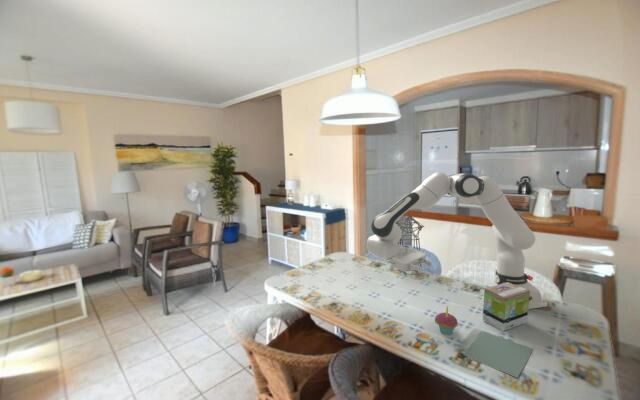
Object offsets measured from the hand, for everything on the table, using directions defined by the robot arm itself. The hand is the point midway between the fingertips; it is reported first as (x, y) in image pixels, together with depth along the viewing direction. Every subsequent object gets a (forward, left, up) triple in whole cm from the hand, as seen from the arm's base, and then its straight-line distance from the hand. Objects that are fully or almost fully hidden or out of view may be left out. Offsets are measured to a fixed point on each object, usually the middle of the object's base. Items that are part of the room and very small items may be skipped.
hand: (426, 266), depth 125 cm
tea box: (-33, +1, -25) cm, 41 cm away
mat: (-18, +20, -25) cm, 37 cm away
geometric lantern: (-7, -57, -25) cm, 62 cm away
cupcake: (-6, +7, -25) cm, 27 cm away
